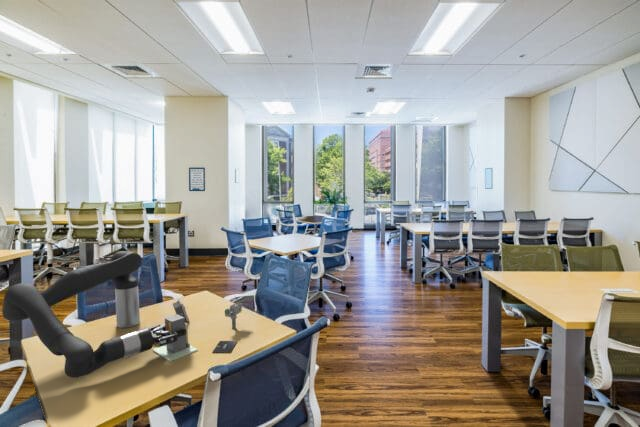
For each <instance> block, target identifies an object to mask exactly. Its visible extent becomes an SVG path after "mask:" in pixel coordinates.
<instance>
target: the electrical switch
mask: <svg viewBox="0 0 640 427" xmlns="http://www.w3.org/2000/svg"><path fill="white" fill-rule="evenodd" d="M172 306H173V309H174V311H175V315H177V314H178V315H180V316H182V317H184V318H185V322H187V323H188V322H190V320H189V316H188V314H187V311H186V307H185V305H184V303H183V302H182V300H181V298H178V299H177V301H176V302H173V303H172Z"/></svg>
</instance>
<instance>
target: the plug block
mask: <svg viewBox="0 0 640 427" xmlns="http://www.w3.org/2000/svg"><path fill="white" fill-rule="evenodd" d="M185 323H186V321H185V318H184V317H182V316H180V315H178V314H174V315H172V316H168V317H164V324H165V331H170V332H176V331H178V330H181V329H185ZM171 335H172V334H171ZM166 336H167V334H166ZM166 346H167V350H169V351H170V352H172V353H176V352H179V351H181V350H184V349H187V348H186V335H184V336H181V337H178V338H177V341H175V342H172V343H169V344H166Z"/></svg>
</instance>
